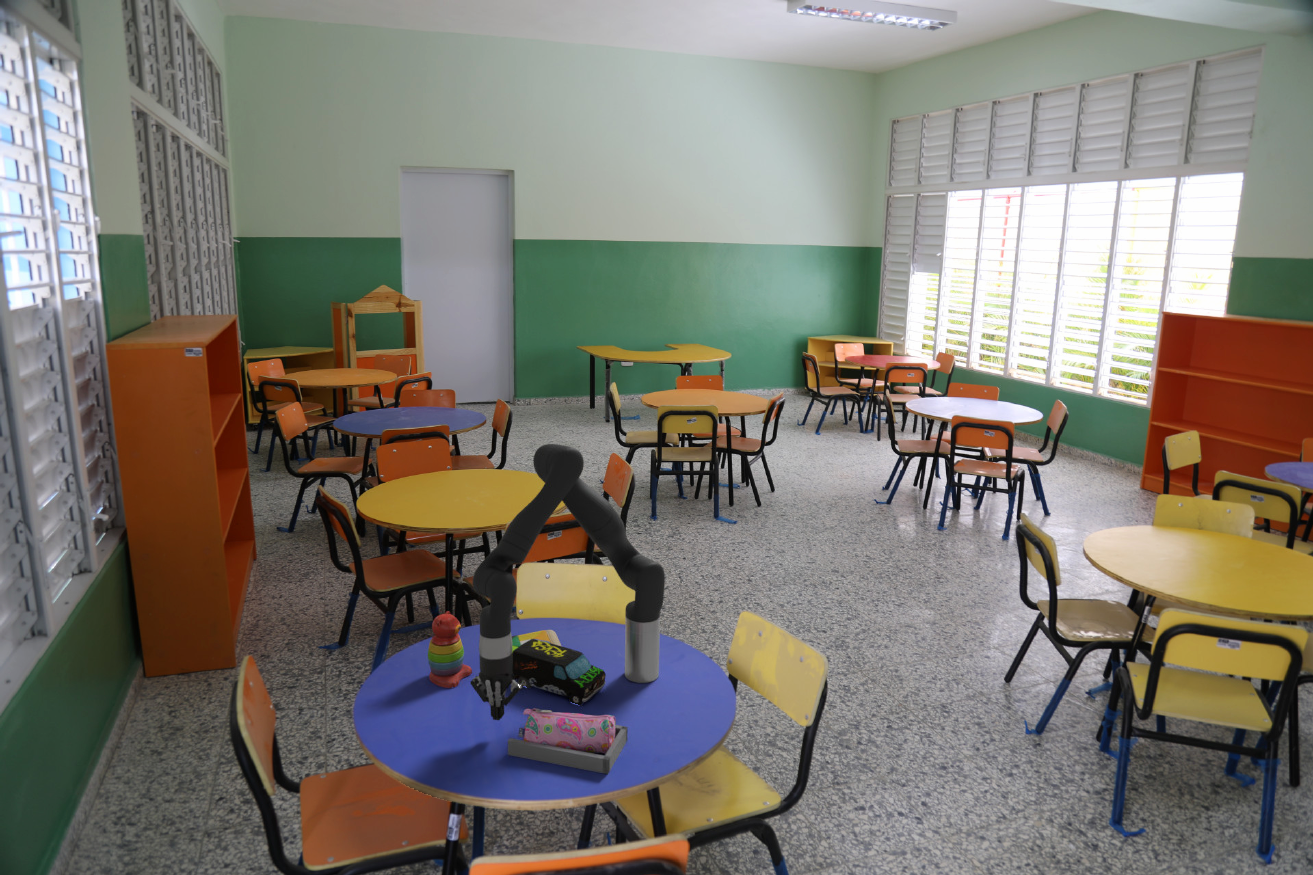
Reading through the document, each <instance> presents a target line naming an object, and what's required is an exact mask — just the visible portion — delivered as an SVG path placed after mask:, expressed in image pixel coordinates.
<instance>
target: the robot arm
mask: <svg viewBox="0 0 1313 875" xmlns="http://www.w3.org/2000/svg"><path fill="white" fill-rule="evenodd" d="M532 461H533V468H534V471H535V473H536V474H537V475H536V476H538V478H540V480H541V481H542V482H543V483H544V484H543V486H542V487H541V489H540V491H539V492H538V493H537V494H536V496H535V497H534V498H533V499H532V500H531V501H530V502H529V503H528V504H527V505H526V506H524V507H523V508H522V510H520V511H519V512H518V513H517V514H516V516H515V517H514V518H512V520H511V522H510V523H509V524H508V527H507V528H506V530H505V532H504V533H503V535H502V537H501V540H499V542H498V545H497V546H496V547H495V548H494V549H493V550H492V551H490V553H489V554H488V555H487V556H486V557H485V558H484V559H483V561H482V562H481V563H480V564H479V565H478V567H476V570H475V571H474V574H473V577H472V587H473V590H474V591H475V593H477V594H479V595H481V597H482V596H483V597H485V598H487V599H489V600H490V605H486V606H485V607H483V608H482V609H481V611H480V612H479V640H478V651H479V652H478V653H479V673H478V675H476V676H475V677H474V678H473V679H471V681H470V685H471V687H472V688H473V689H474V691H475V692H476V694H477V695H478V697H479V698H480V699H481V701H482V702H483V703H488V704H489V706H490V716H491V718H492V720H494V721H497V722H498V721H500V720H501V719H502V718H503V717H504V715H505V706H508V705H509V704H510V702H511V701H512V700H513V699H514V698H515V697H516V696H517V694H518V693H519V692H520V691H521V690H522V689H524V688H523V684H522V683H519V684H518V681H517V680H514V675H513V672H512V669H513V654H512V636H513V635H512V620H511V615H512V611H513V608H514V606H515V605H514V604H515V601H516V596H517V590H518V585H517V581H516V579H515V576H514V575H513V574H512V573H511V572H509V571H506V570H507V569H508V568H509V567H510V566H512V565H521V564H522V563H523V562H525V560H526V559H527V557H528V554H529V552H530V551H531V549H532V547H533V545H534V544H535V541H536V539H537V538H538V536H539V535H540V533H541V531H542V529H543V528H544V526H545V525H546V523H547V522H548V521H549V519H550V517H551V516H552V515H553V513H554V512H555V510H556V509H557V508H558V507H559V505H561V502H562V504H564V506H565V507H566V509H568V511H569V512H570V513H571V515H572V516H573V517H574V519H575V520H576V521H577V523H578V524H579V525H580V528H582V530H583V531H584V532H585V533H586V535H587V537H589V538H590V540H591V541H592V542H593V543H594V544H595V545H596V546H597V548H598V549H599V551H601V552H602V553H603V555H604V556H605V557H606V558H607V559H608V561H609V562H610V564H611V566H612V567H613V568H614V570H615V572H616V574H617V576H618V578H619V579H620V580H621V582H622V583H623V584H624V585H625V586H626V587H628V588H629V589H631V590H632V591H634V592H635V595H634V596H635V597H634V600H632V601H629V602H628V603H627V604H626V606H625V621H624V622H625V624H624V625H625V627H624V628H625V632H624V633H625V635H624V636H625V637H624V638H625V639H624V641H625V642H624V676H625V678H626V680H628V681H631V682H633V683H639V684H645V683H650V682H653V681H655V680H657V679H658V678H659V674H660V673H659V672H660V634H661V633H660V628H661V627H660V626H661V624H660V623H661V622H660V621H661V611H662V608H663V604H664V596H665V584H666V582H665V581H666V580H665V579H666V576H665V571H664V567H663V566H662V565H661V564H660V563H659V562H657V561H655V560H652V559H651V558H648V557H646V556H644V555H643V554H641V553H640V552H639V551H638V549H636V548H635V546H634V545H633V544H632V543H631V542H630V540H629V539H628V537H627V533H626V528H625V523H624V521H623V520H622V518H621V517H620V514H618V512H617V511H616V509H615V508H614V506H612V504H611V502H609V500H607V499H606V498H605V497H604V496H602V495H601V494H600V493H599V492H598V491H596V490H595V489H593V488H592V487H591V486H589V485H588V484H587V483H585V481H583V480H582V478H580V477H581V474H582V473H583V471H584V467H585V464H584V463H585V462H584V457H583V455H582V452H581V451H580V450H579V449H577V448H575V447H573V446H569V445H562V444H558V443H548V444H547V443H546V444H543V445H541V446H539V447H538V448H537V449H536V451H535V452H534V455H533V460H532ZM509 687H510V693H509V694H508V695H507V696H506V694H507V689H508V688H509Z"/></svg>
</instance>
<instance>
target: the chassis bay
mask: <svg viewBox="0 0 1313 875" xmlns="http://www.w3.org/2000/svg"><path fill="white" fill-rule="evenodd" d="M627 742H628V726H625V725H618V724H616V726H615V740H614V741H613V743H612V745H611V746H610V748H609V750H608V751H607V753H606V754H604V755H603V754H599V753H587V752H582V751H576V750H571V749H566V748H560V747H555V746H549V745H544V744H539V743H533V742H528V741H524V740H523V739H518V738H517V739H516V738H510V737H509V738H508V740H507V755H508V756H511V757H516V758H517V757H518V758H522V759H527V760H528V759H529V760H531V761H538V762H543V763H550V764H554V765H558V766H563V767H569V768H575V769H579V770H585V771H590V772H596V773H602V774H606V775H609V773H610V772H611V771H612V768H613V766H614V764H615V763H616V761H617V760H618V758H619V756H620V754H621V752H622V750H623V749H624V747H625V745H626V743H627Z"/></svg>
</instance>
